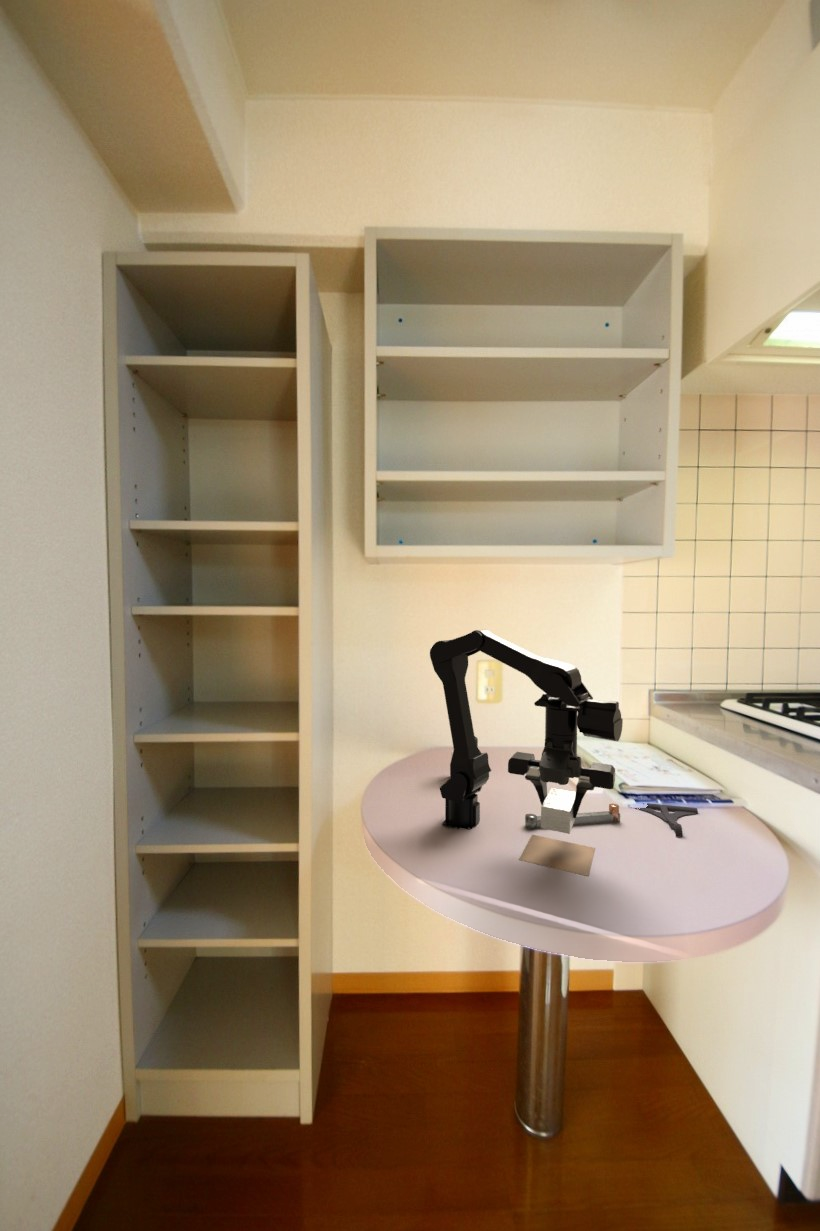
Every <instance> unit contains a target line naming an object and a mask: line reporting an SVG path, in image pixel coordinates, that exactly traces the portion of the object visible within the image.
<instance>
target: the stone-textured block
mask: <svg viewBox="0 0 820 1231" xmlns="http://www.w3.org/2000/svg"><path fill="white" fill-rule="evenodd" d="M575 795H576V791H572V790H568V789H567V790H566V789H560V788H554V787H551V788H550V790H549V791H548V792H547V797H546V799H545V800H544V802H543V804H542V805H541V806H540V816H541V828H540V829H543V830H549V831H553V832H558V833H564V834H571V831H572V828H573V826H574V825H573V824H574V821H575V818H573V809H574V802H575Z"/></svg>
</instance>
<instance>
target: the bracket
mask: <svg viewBox="0 0 820 1231" xmlns="http://www.w3.org/2000/svg"><path fill="white" fill-rule="evenodd" d="M646 803H647V805H648V806H647V807H646V808H640V809H639V808H638V809H639V810H638V811H641V812H645V813H647V814H650V815H653V816H655V817H657V818H659V819H661V820H662V821H664V822H665V823H667V825H668V826H669V828H670V829H671V830H670V831H674V833H675V837H678V838H679V837H680V838H682V837H683V836H684V835H683V828H682V824H680V823H679V822H677V821H678V819H680V818H683V817H686V816H688V817H689V816H695V815H698V814H699V811H698V808H697V807H689V806H681V805H673V804H660V803H652V802H651V803H650V802H646ZM670 812H671V813H670Z"/></svg>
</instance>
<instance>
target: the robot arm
mask: <svg viewBox="0 0 820 1231" xmlns="http://www.w3.org/2000/svg"><path fill="white" fill-rule="evenodd" d="M479 652H481V653H483V654H485V655H487V656H488V657H491V658H493V659H495V660H496V661H498V662H501V663H502V664H504V665H506V666H508V667H510V668H512V669H514V670H515V671H517V672H520V673H521V674H523V675H525V676H526V677H528V678H529V679H530V681H531V682H532V683H533V684H534V685H535V686H536V687H537V688H539V689H540V690H541V691H543V692H544V693H543V694H541V696H540V698H538V699H537V700H536V701H535V702H534V703H533V704H534V706H535V707H543V708H545V724H544V725H545V726H544V727H545V728H544V730H545V731H544V734H545V736H544V747H543V750H542V752H541V758H540V760H539V759H536V757H535V756H536V755H535V754H534V753H529V752H524V751H521V752H520V751H516V752H515V753H514V754H512V756H511V757H510V758H509V759H508V762H507V772H508V773H509V774H511V775H519V776H524V779H525V780H526V781H530V782H531V784H533V786H534V789H535V790H536V794H537V796H538V799H539V802H540V804H541V806H542V804H543V802H544V800H545V799H546V797H547V795H548V783H554V784H558V785H559V786H560V785H561V786H566V785H567V784H569V781H570V779H574V778H577V780H578V781H577V783H576V785H575V786H576V787H575V792H576V795H575V802H574V809H573V818H576V816H577V813H579V811H580V810H579V809H580V807H581V804H582V801H583V798H585V796H586V793H587V791H594V790H595V788H600V789H607V790H613V789H614V787H615V782H616V768H615V767H614V766H613V765H612V764H608V763H601V762H591V763H592V764H591V766H590V767H586V766H582V759H581V757H580V756H578V731H579V733H581V734H582V736H584V737H587V738H595V739H600V740H605V741H612V742H619V741H620V740H621V736H622V732H623V723H624V722H623V720H624V719H623V718H622V712H621V709H620V706H619V705H620V703H619V701H615V700H608V701H607V700H598V699H594V697H593V695H592V694H591V693H590V692H589V690H588V688H587V687H586V686H585V684H584V683H583V681H582V675H581V673H580V670H579V669H578V668H577V667H576V666H574V665H573V664H570V663H567V662H563V661H561V660H556V659H552V658H545V657H542V656H538V655H536V654H535V653H532V652H530V651H528V650H526V649H525V648H522V647H520V646H518V645H516V644H515V643H511V642H510V641H508V640H506V639H504V638H502V637H499V636H498V635H496V634H494V633H493V632H491V631H490V630H488V629H476V630H473V631H471V632H469V633H467V634H465V635H464V634H463V635H462V636H458V637H456V638H453V639H448V640H438V641H436V642H434V643H433V645H432V646H431V648H430V649H429V657H430V661H431V664H432V668H433V670H434V673H435V674H436V675H437V677H438V678H439V680H440V681H441V682H442V686H443V693H444V698H445V699H444V700H445V705H446V706H445V707H446V710H447V718H448V724H449V728H450V735H451V741H452V746H453V747H452V748H453V755H452V759H451V758H450V764H449V772H450V773H449V779H448V780H447V781H446V782H445V783H443V784H441V786H440V787H439V791H440V796H441V798H442V799H444V800H445V804H444V805H445V806H444V807H445V809H444V810H445V815H444V816H445V817H444V820H443V821H442V822H441V823H442V824H441V825H442V826H443V827H448V828H453V829H457V830H460V829H463V830H472V829H473V828H474V827H476V826H477V825H478V824H479V822H480V821H481V820H480V819H481V803H480V802H479V801H478V800H479V799H478V798H479V797H478V795H479V794H477V793H478V792H481V790H482V788H483V786H484V785H486V784H487V782H488V780H489V779H490V772H492V768H491V767H490V763H489V754H488V752H483V753H482V752H481V750H480V749H479V746H478V747H477V746H476V742H475V737H476V735H475V731H474V726H473V719H472V713H471V708H470V703H469V702H470V701H469V697H468V690H467V685H466V675H467V672H468V667H469V657H470V656H473V655H475V654H477V653H479Z"/></svg>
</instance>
